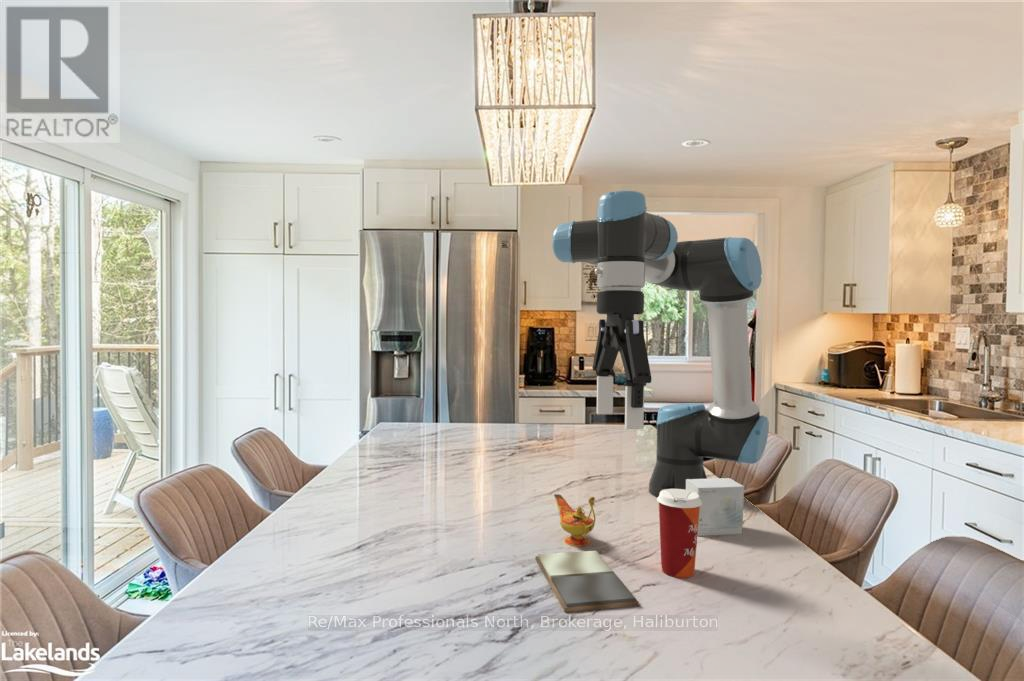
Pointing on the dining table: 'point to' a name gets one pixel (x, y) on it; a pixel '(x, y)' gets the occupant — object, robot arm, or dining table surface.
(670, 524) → the paper cup
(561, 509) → the magic lamp
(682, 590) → the dining table surface
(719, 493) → the skincare box
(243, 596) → the dining table surface
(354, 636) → the dining table surface
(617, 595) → the wooden framed mirror
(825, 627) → the dining table surface
